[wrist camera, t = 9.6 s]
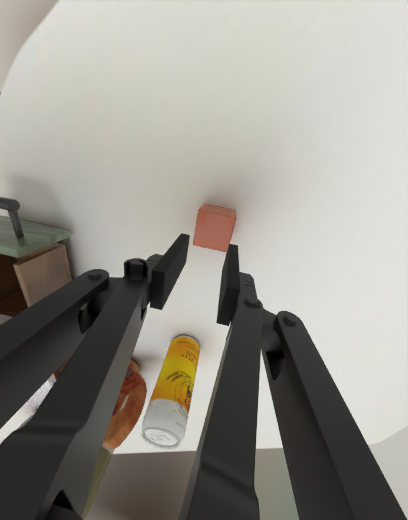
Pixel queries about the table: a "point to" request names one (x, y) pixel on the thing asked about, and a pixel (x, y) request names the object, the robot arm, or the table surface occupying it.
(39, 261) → the drawer
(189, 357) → the beer can
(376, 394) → the table surface
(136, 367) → the mug
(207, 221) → the block
